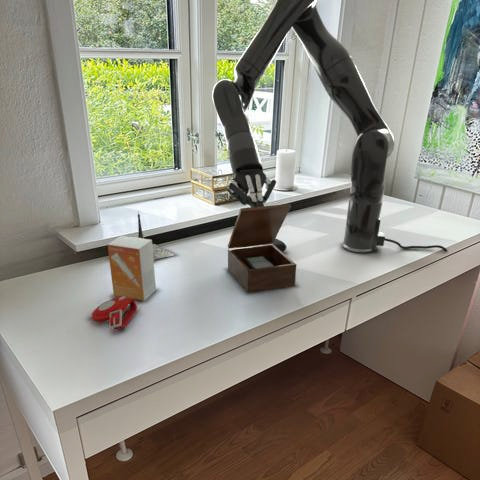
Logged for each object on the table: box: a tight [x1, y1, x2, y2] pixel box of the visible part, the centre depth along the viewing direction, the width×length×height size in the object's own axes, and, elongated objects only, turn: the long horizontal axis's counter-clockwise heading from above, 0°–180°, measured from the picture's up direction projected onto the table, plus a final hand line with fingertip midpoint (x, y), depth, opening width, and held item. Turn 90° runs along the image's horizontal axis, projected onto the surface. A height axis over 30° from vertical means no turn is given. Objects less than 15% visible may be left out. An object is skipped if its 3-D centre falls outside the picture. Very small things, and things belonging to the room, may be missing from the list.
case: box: [227, 244, 297, 294], centre depth 119 cm, size 15×13×6 cm
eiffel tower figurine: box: [137, 210, 175, 261], centre depth 128 cm, size 15×10×13 cm
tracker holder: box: [91, 296, 138, 331], centre depth 100 cm, size 12×4×10 cm
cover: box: [227, 203, 292, 250], centre depth 117 cm, size 16×13×1 cm
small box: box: [107, 235, 157, 302], centre depth 108 cm, size 8×6×13 cm
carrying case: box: [246, 237, 288, 253], centre depth 137 cm, size 11×3×15 cm
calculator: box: [243, 256, 275, 269], centre depth 120 cm, size 10×6×3 cm, turn 20°
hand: (260, 217), depth 114 cm, fingers closed
